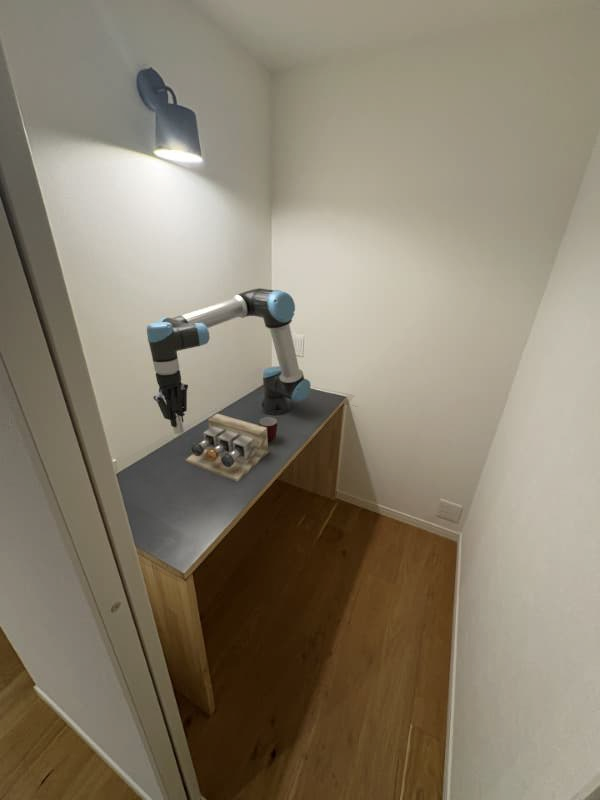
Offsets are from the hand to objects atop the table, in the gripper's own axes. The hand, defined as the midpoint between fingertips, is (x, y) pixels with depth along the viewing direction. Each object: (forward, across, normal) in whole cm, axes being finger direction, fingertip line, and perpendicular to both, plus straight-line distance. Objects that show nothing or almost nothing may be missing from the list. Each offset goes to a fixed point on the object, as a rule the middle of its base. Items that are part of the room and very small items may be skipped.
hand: (179, 432), depth 113 cm
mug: (+19, -33, +16) cm, 41 cm away
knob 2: (+14, -10, +15) cm, 23 cm away
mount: (+18, -15, +7) cm, 25 cm away
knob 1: (+14, -10, 0) cm, 18 cm away
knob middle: (+14, -10, +7) cm, 19 cm away
